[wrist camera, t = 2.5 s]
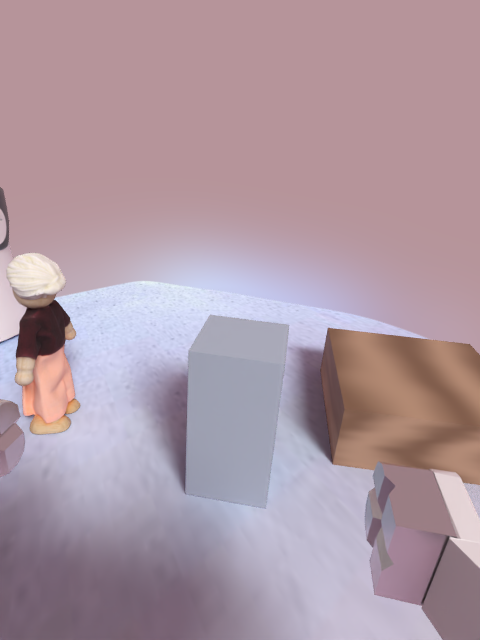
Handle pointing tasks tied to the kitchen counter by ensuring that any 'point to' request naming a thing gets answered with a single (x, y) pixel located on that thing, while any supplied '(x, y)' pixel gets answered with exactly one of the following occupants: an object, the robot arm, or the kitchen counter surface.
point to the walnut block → (402, 402)
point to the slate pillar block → (233, 408)
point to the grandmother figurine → (42, 344)
